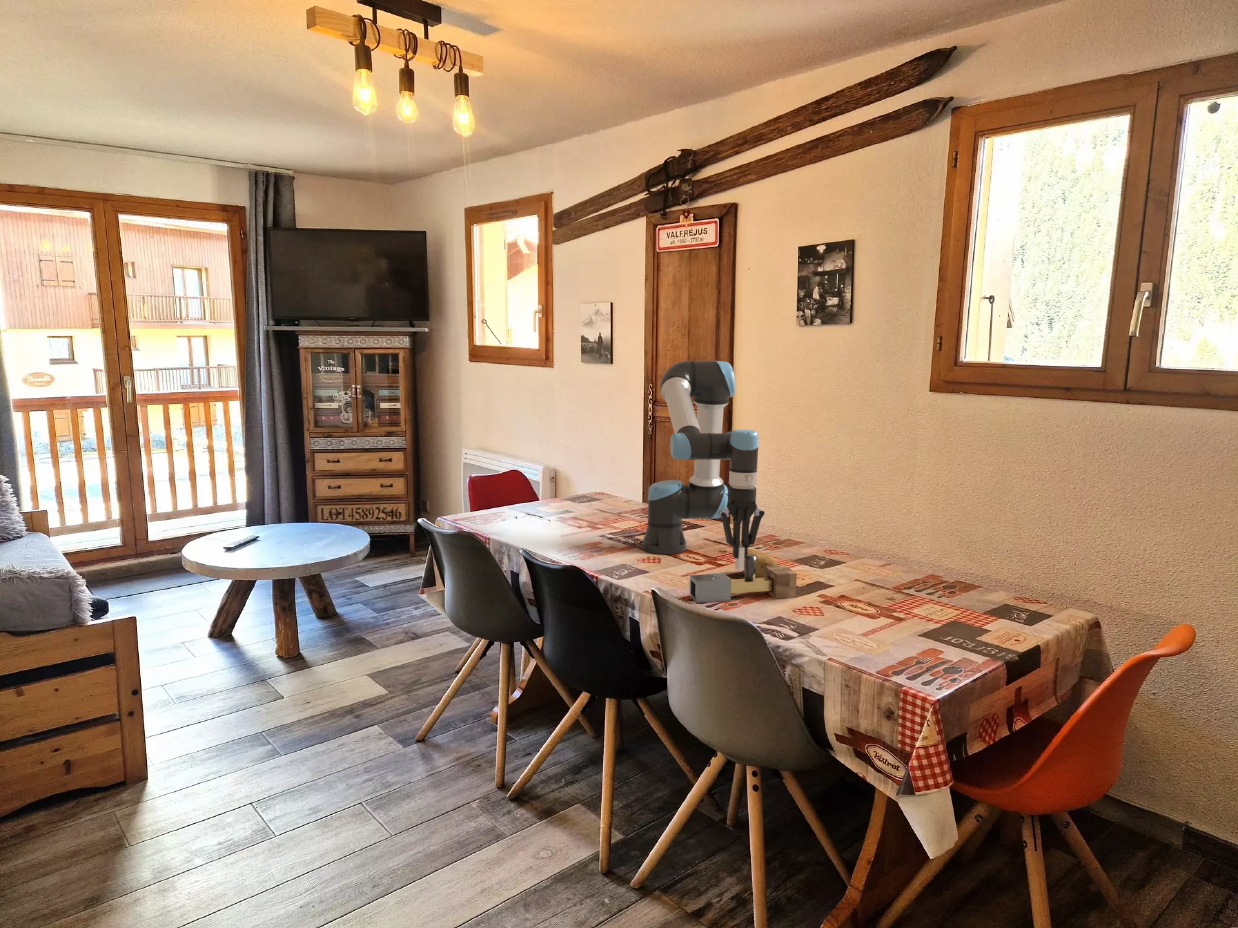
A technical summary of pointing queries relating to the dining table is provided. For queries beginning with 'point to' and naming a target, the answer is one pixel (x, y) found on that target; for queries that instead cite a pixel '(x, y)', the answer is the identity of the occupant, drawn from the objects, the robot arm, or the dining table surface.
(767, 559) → the potato
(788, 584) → the socket
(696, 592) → the sleeve
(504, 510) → the dining table surface
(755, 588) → the sliding bolt
